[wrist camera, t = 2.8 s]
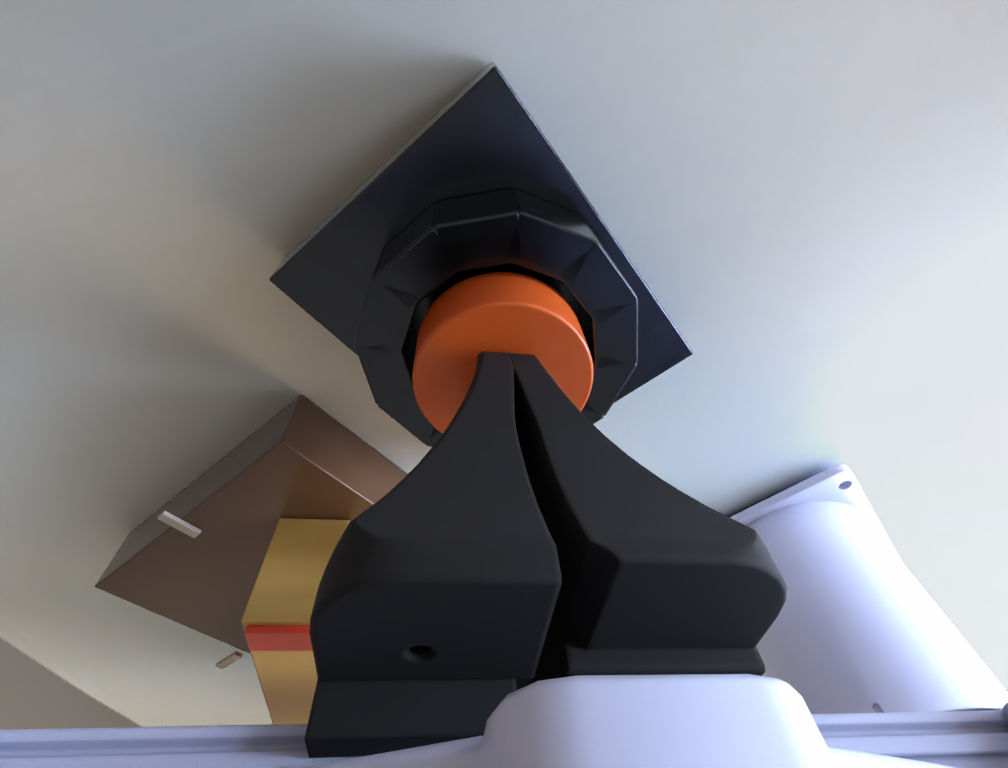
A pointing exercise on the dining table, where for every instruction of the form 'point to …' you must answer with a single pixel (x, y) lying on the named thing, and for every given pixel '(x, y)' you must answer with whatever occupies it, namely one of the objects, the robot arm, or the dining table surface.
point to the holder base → (245, 520)
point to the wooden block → (289, 614)
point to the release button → (496, 339)
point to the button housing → (474, 252)
